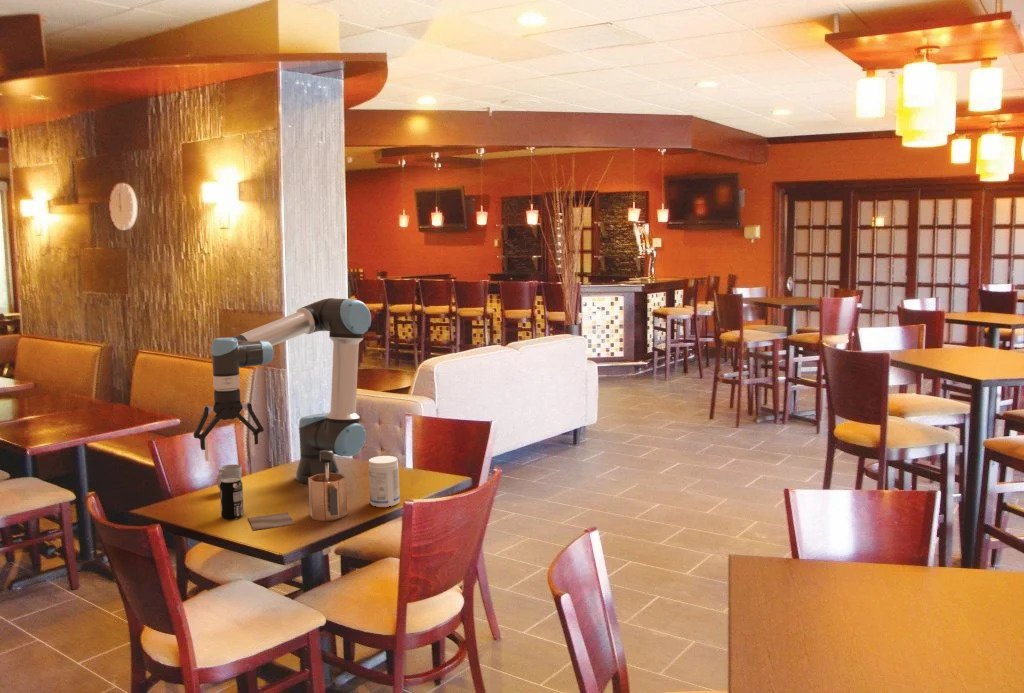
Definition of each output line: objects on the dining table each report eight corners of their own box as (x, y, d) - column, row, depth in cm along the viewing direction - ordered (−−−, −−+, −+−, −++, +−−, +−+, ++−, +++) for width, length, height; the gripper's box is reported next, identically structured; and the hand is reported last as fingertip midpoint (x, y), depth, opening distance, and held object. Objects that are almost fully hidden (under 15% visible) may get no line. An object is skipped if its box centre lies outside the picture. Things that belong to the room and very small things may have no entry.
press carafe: (307, 513, 263) (306, 475, 262) (341, 508, 267) (340, 471, 266) (316, 526, 251) (315, 486, 249) (352, 520, 255) (351, 482, 254)
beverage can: (221, 515, 262) (219, 477, 260) (243, 512, 264) (241, 475, 263) (221, 521, 256) (219, 483, 254) (244, 518, 258) (242, 480, 257)
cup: (247, 489, 289) (246, 465, 288) (227, 497, 280) (226, 472, 279) (230, 487, 292) (229, 463, 291) (209, 495, 283) (208, 470, 282)
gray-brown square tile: (248, 518, 258) (248, 517, 258) (287, 513, 263) (287, 512, 263) (253, 530, 247) (253, 529, 247) (295, 524, 252) (295, 523, 252)
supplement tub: (390, 497, 279) (388, 453, 277) (405, 503, 271) (404, 459, 269) (364, 503, 272) (362, 458, 271) (379, 510, 265) (377, 464, 263)
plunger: (313, 504, 262) (311, 450, 260) (337, 500, 265) (335, 447, 263) (318, 510, 255) (316, 455, 253) (343, 507, 258) (341, 452, 256)
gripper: (183, 394, 246) (187, 465, 249) (271, 387, 257) (274, 455, 259) (181, 390, 253) (185, 459, 256) (267, 383, 264) (270, 450, 266)
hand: (230, 457), depth 258 cm, fingers open, 13 cm apart
